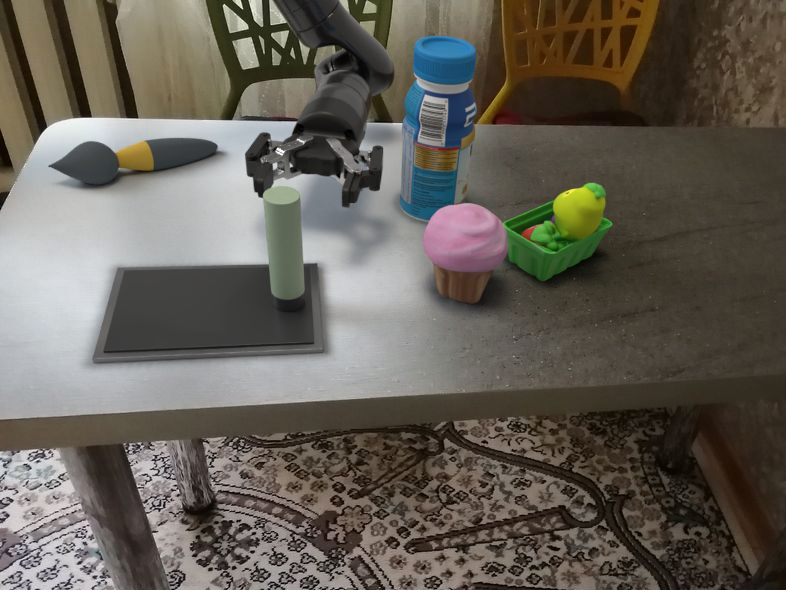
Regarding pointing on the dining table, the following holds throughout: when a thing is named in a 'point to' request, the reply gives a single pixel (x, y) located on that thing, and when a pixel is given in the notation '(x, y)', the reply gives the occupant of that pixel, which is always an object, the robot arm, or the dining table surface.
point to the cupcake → (464, 249)
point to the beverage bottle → (438, 127)
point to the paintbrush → (130, 157)
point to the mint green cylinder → (284, 247)
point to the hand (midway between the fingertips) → (303, 194)
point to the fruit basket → (558, 232)
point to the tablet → (204, 314)
